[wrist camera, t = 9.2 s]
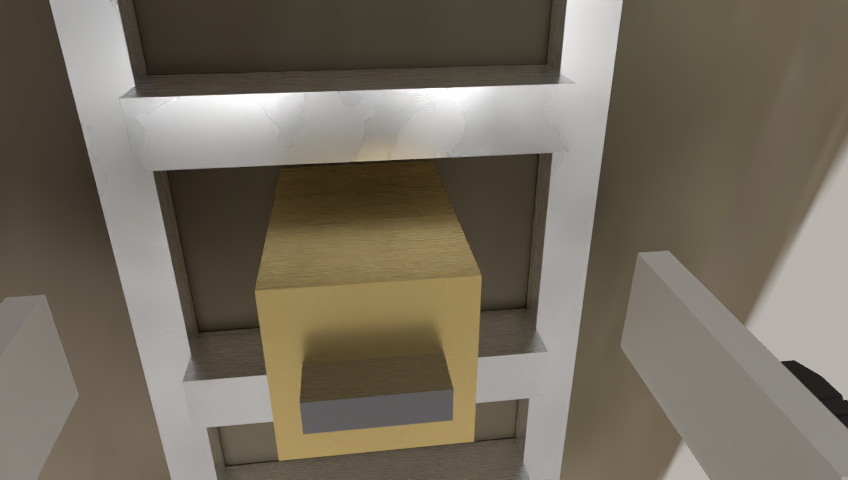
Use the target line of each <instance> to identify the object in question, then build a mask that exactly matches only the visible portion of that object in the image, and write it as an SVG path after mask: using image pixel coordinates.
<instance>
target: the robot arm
mask: <svg viewBox="0 0 848 480" xmlns="http://www.w3.org/2000/svg"><path fill="white" fill-rule="evenodd" d="M620 347H621V348H622V350H623V351H624V353H625V354H626V356H627V357H628V359H629V360H630V362H631V363H632V365H633V366H634V368H635V369H636V370H637V372H638V373H639V375H640V376H641V378H642V379H643V381H644V382H645V384H646V385H647V387H648V388H649V390H650V391H651V393H652V394H653V396H654V397H655V399H656V400H657V402H658V403H659V404H660V406H661V407H662V409H663V410H664V412H665V413H666V415H667V416H668V418H669V419H670V421H671V422H672V424H673V425H674V427H675V428H676V430H677V431H678V433H679V434H680V436H681V437H682V439H683V440H684V441H685V443H686V444H687V446H688V447H689V449H690V450H691V452H692V453H693V454H694V456H695V458H696V459H697V461H698V462H699V463H700V465H701V466H702V468H703V470H704V471H705V473H706V474H707V475H708V477H709V478H710V480H848V401H847V400H843V398H842V397H843V396H842V395H841V394H840V393H839V392H838V391H836V389H834V388H833V387H832V386H831V385H830V384H829V383H828V382H827V381H826V380H825V379H824V378H823V377H821V376H820V375H818V374H817V373H815V372H813V371H812V370H810V369H808V368H806V367H804V366H803V365H801V364H800V363H798V362H796V361H794V360H792V361H782V362H780V361H779V360H778V359H777V358H776V357H775V356H774V355H773V354H772V353H771V352H770V351H769V350H768V349H767V348H766V347H765V346H764V345H763V344H762V343H761V342H760V341H759V340H758V339H757V338H756V337H755V336H754V335H753V334H752V333H751V332H750V331H749V330H748V329H747V328H746V327H745V326H744V325H743V324H742V323H741V322H740V321H739V320H738V319H737V318H736V317H735V316H734V315H733V314H732V313H731V312H730V311H729V310H728V309H727V308H726V307H725V306H724V305H723V304H722V303H721V302H720V301H719V300H718V299H717V298H716V297H715V296H714V295H713V294H712V293H711V292H710V291H708V290H707V289H706V288H705V287H704V286H703V285H702V284H701V283H700V282H699V281H698V280H697V279H696V278H695V277H694V276H693V275H692V274H691V273H690V272H689V271H688V270H687V269H686V268H685V267H684V266H683V265H682V264H681V263H680V262H679V261H678V260H677V259H676V258H675V257H674V256H673V255H672V254H671V253H670V252H669V251H656V252H642V253H638V254H637V260H636V265H635V271H634V276H633V281H632V287H631V292H630V298H629V303H628V308H627V314H626V319H625V325H624V330H623V335H622V341H621V346H620ZM78 396H79V394H78V391H77V388H76V385H75V383H74V380H73V377H72V374H71V371H70V368H69V365H68V362H67V359H66V356H65V353H64V350H63V347H62V344H61V341H60V338H59V335H58V332H57V329H56V326H55V323H54V320H53V317H52V314H51V311H50V308H49V305H48V302H47V299H46V296H45V295H34V296H20V297H6V298H5V299H4V300H3V301H2V303H1V304H0V480H36V479H37V477H38V476H39V474H40V472H41V470H42V468H43V466H44V464H45V462H46V460H47V458H48V456H49V454H50V452H51V450H52V448H53V446H54V444H55V442H56V440H57V438H58V436H59V434H60V432H61V430H62V428H63V426H64V424H65V422H66V420H67V418H68V416H69V414H70V412H71V410H72V408H73V406H74V404H75V402H76V400H77V398H78Z"/></svg>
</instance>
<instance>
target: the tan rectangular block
mask: <svg viewBox="0 0 848 480" xmlns="http://www.w3.org/2000/svg"><path fill="white" fill-rule="evenodd" d="M481 282H482V275H481V273H480V270H479V268H478V266H477V263H476V261H475V259H474V256H473V254H472V252H471V249H470V247H469V244H468V242H467V240H466V237H465V235H464V233H463V230H462V228H461V226H460V223H459V221H458V219H457V216H456V214H455V212H454V209H453V207H452V205H451V202H450V200H449V198H448V195H447V193H446V191H445V188H444V186H443V184H442V181H441V179H440V177H439V174H438V172H437V170H436V167H435V165H434V163H433V161H418V162H395V163H373V164H350V165H328V166H305V167H283V168H281V170H280V175H279V179H278V184H277V189H276V193H275V198H274V203H273V207H272V212H271V217H270V221H269V226H268V231H267V235H266V240H265V245H264V249H263V254H262V259H261V263H260V268H259V273H258V278H257V282H256V287H255V297H256V304H257V311H258V318H259V325H260V331H261V338H262V345H263V352H264V359H265V366H266V373H267V380H268V387H269V394H270V401H271V408H272V415H273V422H274V429H275V436H276V443H277V450H278V457H279V461H283V460H293V459H303V458H313V457H323V456H334V455H344V454H354V453H364V452H374V451H384V450H395V449H405V448H415V447H425V446H435V445H446V444H456V443H466V442H474V431H475V410H476V388H477V367H478V346H479V324H480V303H481Z"/></svg>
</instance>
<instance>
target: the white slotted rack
mask: <svg viewBox="0 0 848 480" xmlns="http://www.w3.org/2000/svg"><path fill="white" fill-rule="evenodd" d="M49 1H50V5H51V9H52V13H53V17H54V21H55V25H56V29H57V33H58V37H59V40H60V44H61V48H62V52H63V56H64V60H65V64H66V68H67V72H68V76H69V80H70V84H71V88H72V91H73V95H74V99H75V103H76V107H77V111H78V115H79V119H80V123H81V127H82V131H83V135H84V139H85V142H86V146H87V150H88V154H89V158H90V162H91V166H92V170H93V174H94V178H95V182H96V186H97V190H98V193H99V197H100V201H101V205H102V209H103V213H104V217H105V221H106V225H107V229H108V233H109V237H110V241H111V245H112V248H113V252H114V256H115V260H116V264H117V268H118V272H119V276H120V280H121V284H122V288H123V292H124V296H125V299H126V303H127V307H128V311H129V315H130V319H131V323H132V327H133V331H134V335H135V339H136V343H137V347H138V350H139V354H140V358H141V362H142V366H143V370H144V374H145V378H146V382H147V386H148V390H149V394H150V398H151V401H152V405H153V409H154V413H155V417H156V421H157V425H158V429H159V433H160V437H161V441H162V445H163V449H164V452H165V456H166V460H167V464H168V468H169V472H170V476H171V480H559V478H560V471H561V463H562V456H563V448H564V441H565V433H566V426H567V418H568V410H569V403H570V395H571V388H572V380H573V373H574V365H575V357H576V350H577V342H578V335H579V327H580V320H581V312H582V305H583V297H584V289H585V282H586V274H587V267H588V259H589V252H590V244H591V237H592V229H593V221H594V214H595V206H596V199H597V191H598V184H599V176H600V169H601V161H602V153H603V146H604V138H605V131H606V123H607V116H608V108H609V101H610V93H611V85H612V78H613V70H614V63H615V55H616V48H617V40H618V32H619V25H620V17H621V10H622V2H623V0H552V8H551V20H550V32H549V44H548V55H547V64H536V65H501V66H465V67H430V68H395V69H359V70H324V71H289V72H253V73H218V74H183V75H147V70H146V65H145V60H144V55H143V50H142V45H141V40H140V35H139V30H138V25H137V20H136V15H135V10H134V5H133V0H49ZM537 153H539V162H538V174H537V185H536V197H535V209H534V221H533V233H532V244H531V256H530V268H529V280H528V292H527V304H526V308H523V309H509V310H496V311H482V312H480V324H479V346H478V367H477V388H476V403H482V402H493V401H503V400H514V399H518V410H517V422H516V433H515V438H511V439H501V440H491V441H481V442H471V443H460V444H450V445H440V446H430V447H420V448H410V449H399V450H389V451H379V452H369V453H359V454H349V455H338V456H328V457H318V458H308V459H298V460H288V461H277V462H267V463H257V464H247V465H237V466H227V467H225V463H224V458H223V453H222V448H221V443H220V438H219V433H218V428H217V427H218V426H229V425H240V424H251V423H262V422H273V415H272V408H271V401H270V394H269V387H268V380H267V373H266V366H265V359H264V352H263V345H262V338H261V331H260V328H253V329H239V330H226V331H212V332H198V327H197V322H196V317H195V312H194V307H193V302H192V297H191V292H190V287H189V282H188V277H187V272H186V267H185V262H184V257H183V252H182V247H181V241H180V236H179V231H178V226H177V221H176V216H175V211H174V206H173V201H172V196H171V191H170V186H169V181H168V176H167V171H166V170H182V169H204V168H226V167H249V166H271V165H293V164H315V163H337V162H360V161H382V160H404V159H426V158H448V157H470V156H493V155H515V154H537Z"/></svg>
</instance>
